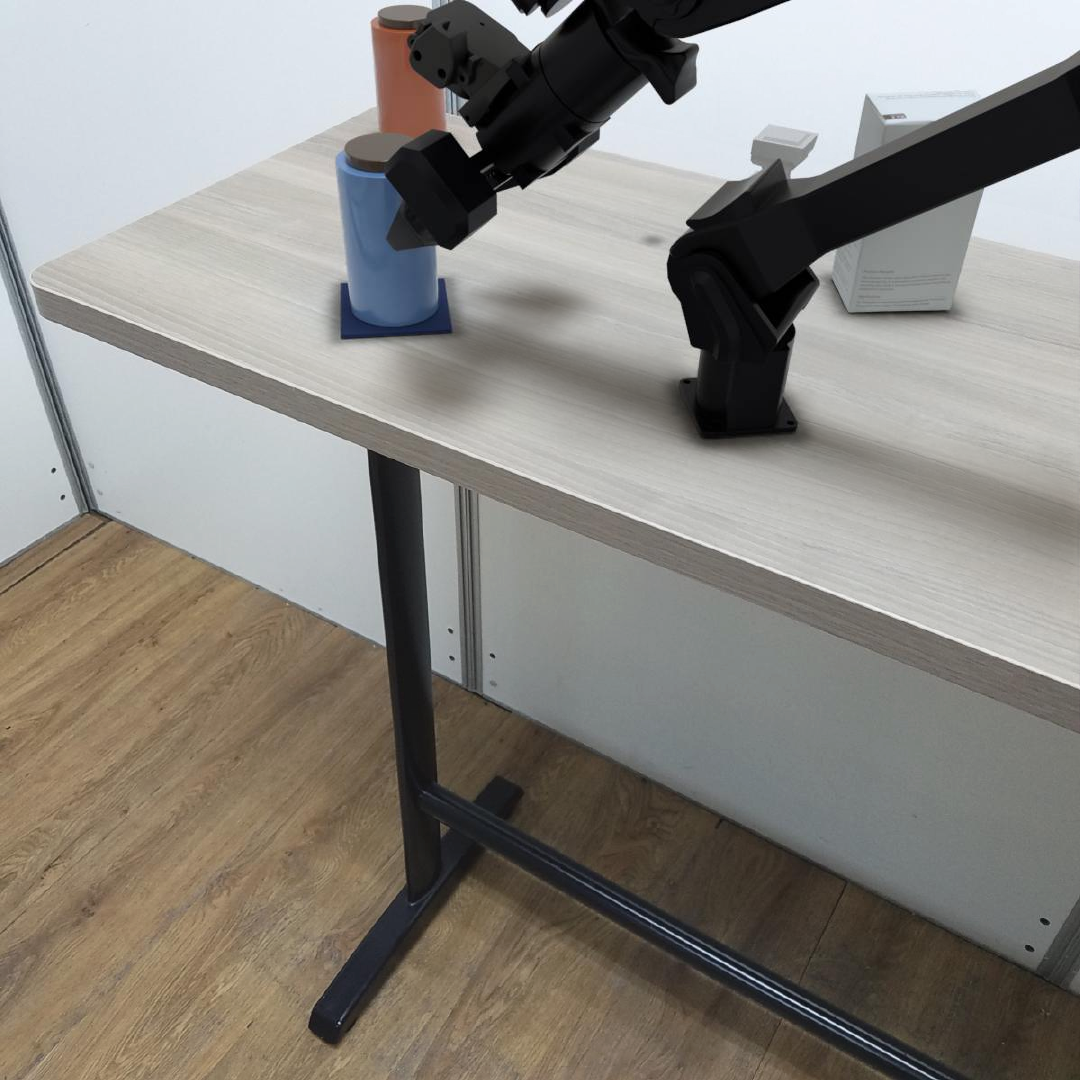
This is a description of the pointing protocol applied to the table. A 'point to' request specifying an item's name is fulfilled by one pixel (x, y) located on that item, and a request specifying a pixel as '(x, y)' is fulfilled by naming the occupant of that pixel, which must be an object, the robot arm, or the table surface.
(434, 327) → the blue mat
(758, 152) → the stamp
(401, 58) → the terracotta jar
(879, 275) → the cosmetic box
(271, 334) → the table surface
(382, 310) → the blue jar
